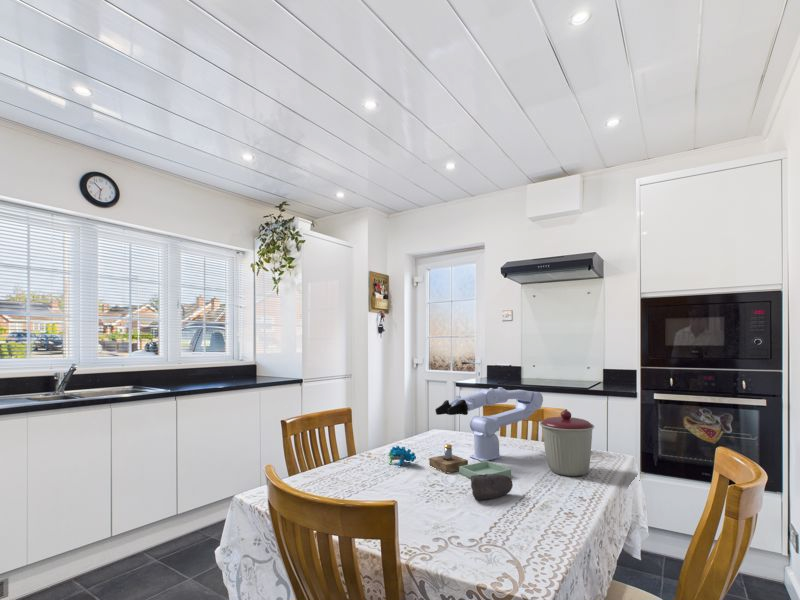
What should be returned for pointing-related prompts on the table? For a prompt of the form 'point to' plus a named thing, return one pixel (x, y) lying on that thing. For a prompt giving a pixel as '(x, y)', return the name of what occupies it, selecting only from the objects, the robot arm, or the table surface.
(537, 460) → the table surface
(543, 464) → the table surface
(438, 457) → the block
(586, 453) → the canister
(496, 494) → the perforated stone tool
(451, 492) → the table surface
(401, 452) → the blue bumpy piece
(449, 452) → the pin
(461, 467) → the tray
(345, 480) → the table surface
